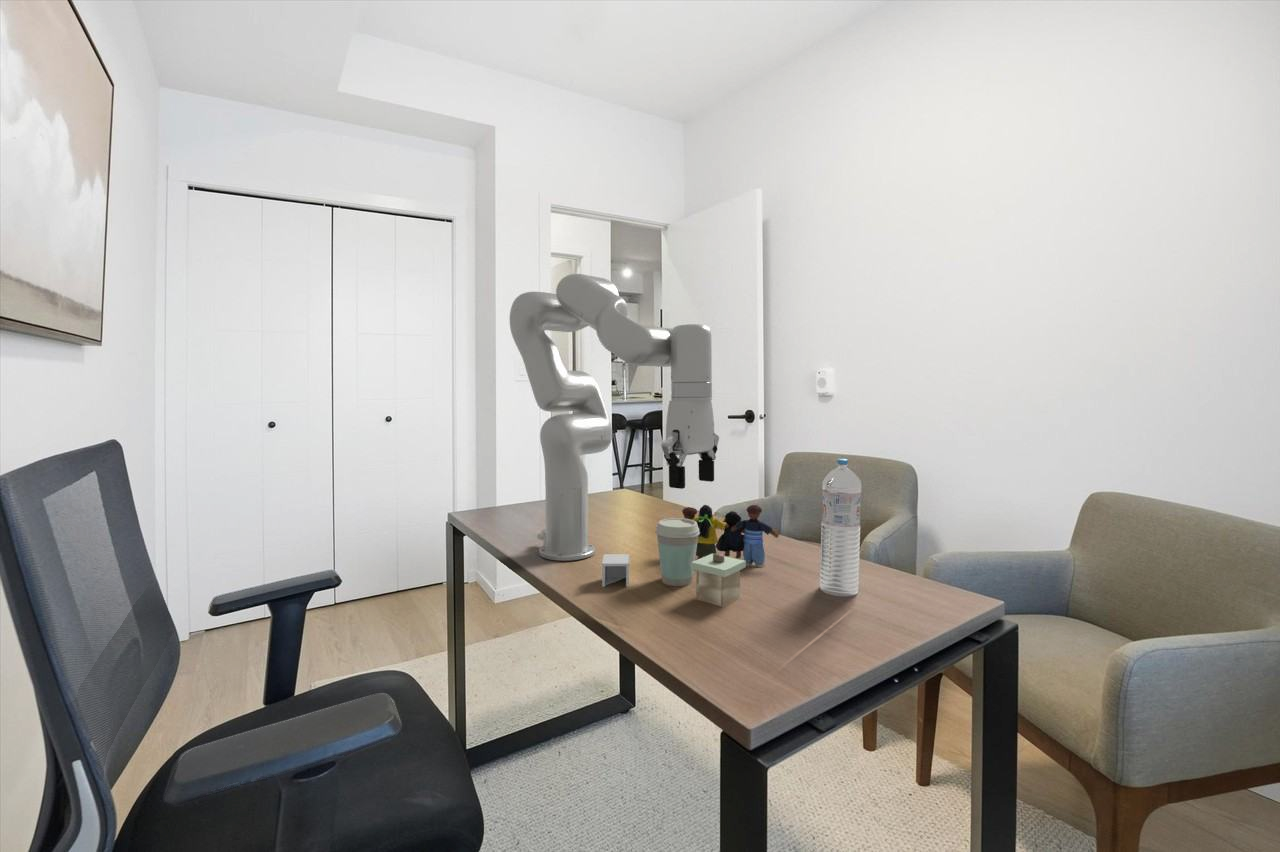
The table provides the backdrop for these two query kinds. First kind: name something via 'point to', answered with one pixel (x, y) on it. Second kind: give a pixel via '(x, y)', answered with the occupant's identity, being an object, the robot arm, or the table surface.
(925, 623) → the table surface
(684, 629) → the table surface
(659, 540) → the coffee cup
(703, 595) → the box
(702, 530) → the doll family
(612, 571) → the white cuboid
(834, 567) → the water bottle
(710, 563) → the lid
